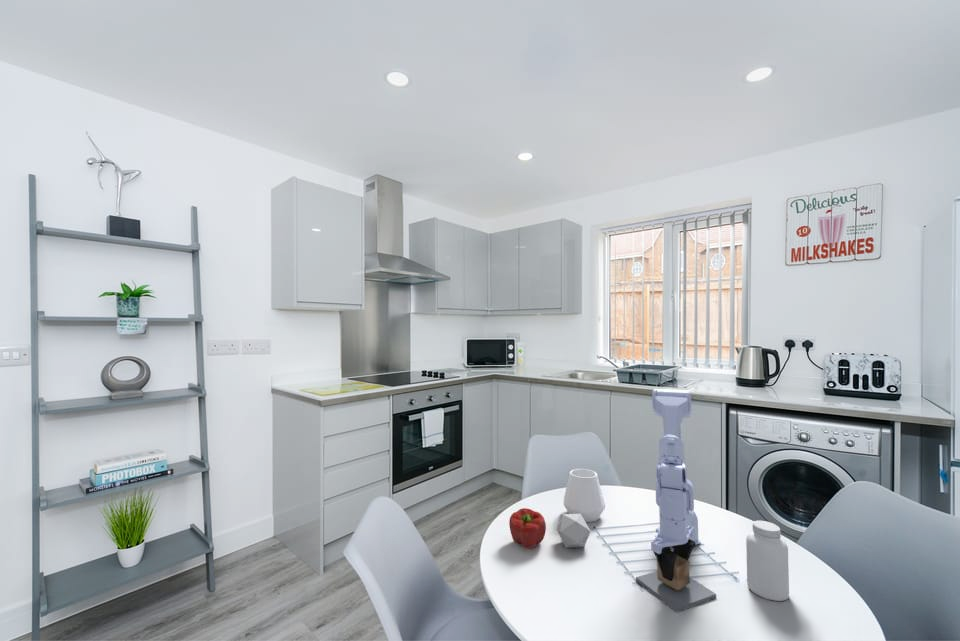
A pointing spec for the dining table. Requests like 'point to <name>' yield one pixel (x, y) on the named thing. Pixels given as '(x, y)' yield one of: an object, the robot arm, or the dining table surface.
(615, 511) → the dining table surface
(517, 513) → the vegetable
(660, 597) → the slate coaster
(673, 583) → the tan cube
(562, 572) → the dining table surface
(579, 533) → the die
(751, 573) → the pill bottle
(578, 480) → the white vase
